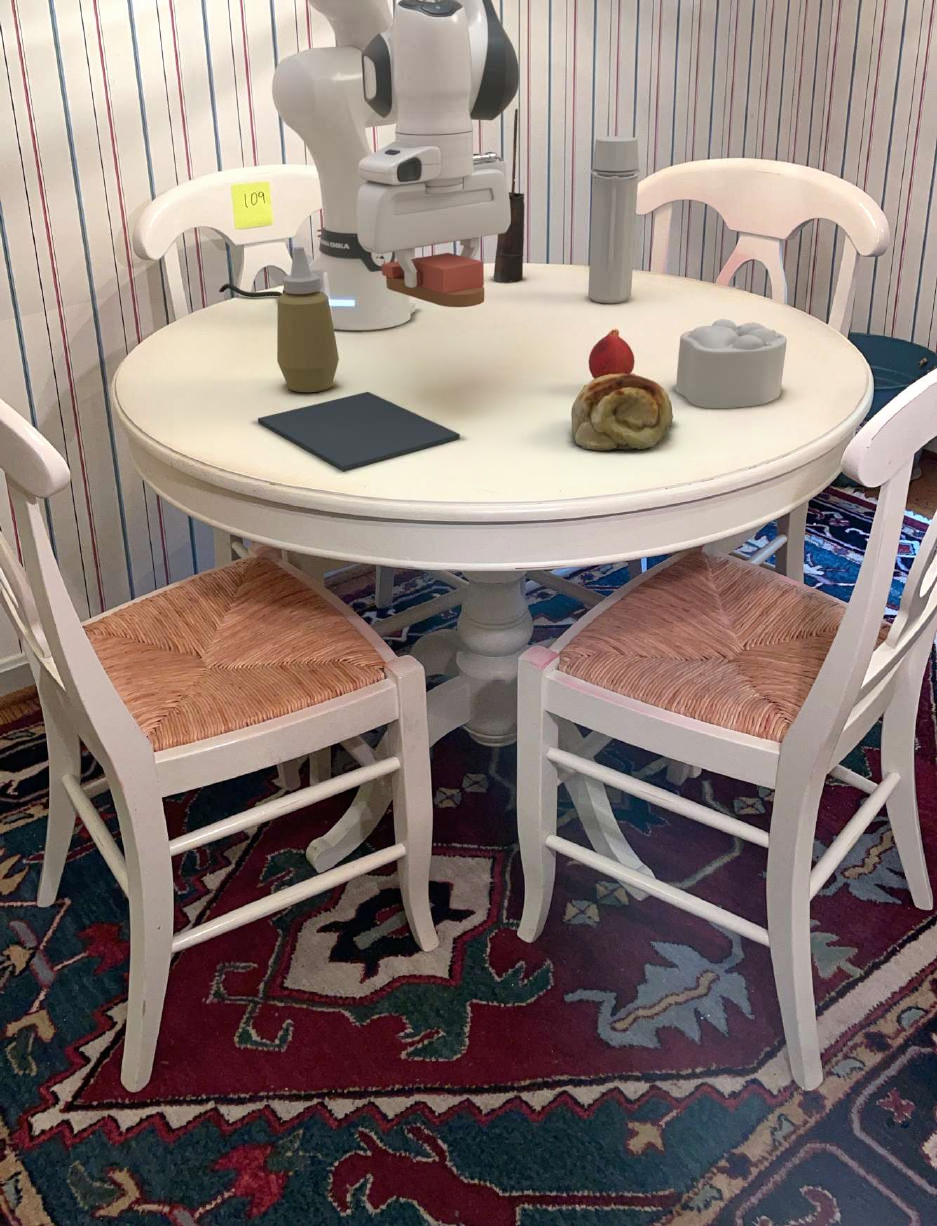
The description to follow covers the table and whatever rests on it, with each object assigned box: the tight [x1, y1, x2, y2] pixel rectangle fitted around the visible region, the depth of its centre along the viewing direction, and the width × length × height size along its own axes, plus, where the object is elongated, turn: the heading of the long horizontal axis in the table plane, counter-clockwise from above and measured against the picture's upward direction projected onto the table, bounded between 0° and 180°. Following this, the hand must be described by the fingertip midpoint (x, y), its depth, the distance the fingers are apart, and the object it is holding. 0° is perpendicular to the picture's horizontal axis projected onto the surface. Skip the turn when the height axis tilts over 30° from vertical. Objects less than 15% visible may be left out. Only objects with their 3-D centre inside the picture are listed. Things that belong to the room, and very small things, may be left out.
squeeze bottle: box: [276, 246, 340, 393], centre depth 144 cm, size 8×8×18 cm
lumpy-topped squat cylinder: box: [675, 318, 788, 410], centre depth 141 cm, size 10×13×9 cm
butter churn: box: [493, 108, 525, 283], centre depth 192 cm, size 9×10×28 cm
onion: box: [588, 328, 636, 380], centre depth 144 cm, size 6×6×8 cm
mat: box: [257, 391, 461, 472], centre depth 133 cm, size 20×16×1 cm
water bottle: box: [587, 135, 642, 305], centre depth 180 cm, size 9×8×25 cm
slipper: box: [382, 252, 485, 308], centre depth 134 cm, size 16×6×4 cm, turn 38°
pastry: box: [570, 372, 674, 451], centre depth 129 cm, size 14×12×8 cm
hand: (438, 281), depth 134 cm, fingers closed on slipper, 6 cm apart
